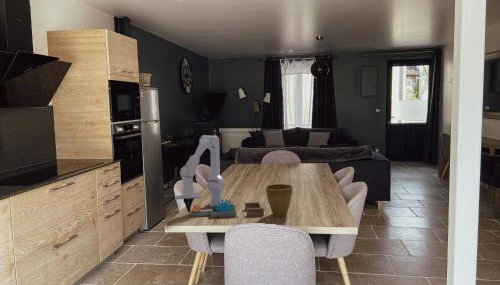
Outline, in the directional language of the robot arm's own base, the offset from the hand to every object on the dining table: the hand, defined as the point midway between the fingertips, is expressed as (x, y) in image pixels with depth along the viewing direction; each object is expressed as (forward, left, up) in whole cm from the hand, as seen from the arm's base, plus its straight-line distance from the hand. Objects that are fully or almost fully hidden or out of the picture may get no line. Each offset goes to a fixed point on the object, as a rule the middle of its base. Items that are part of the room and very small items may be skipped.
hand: (188, 211), depth 212 cm
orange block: (0, +8, -2) cm, 8 cm away
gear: (0, +21, -2) cm, 21 cm away
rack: (0, +37, -2) cm, 37 cm away
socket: (0, +14, -2) cm, 14 cm away
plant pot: (+7, +50, -2) cm, 51 cm away
